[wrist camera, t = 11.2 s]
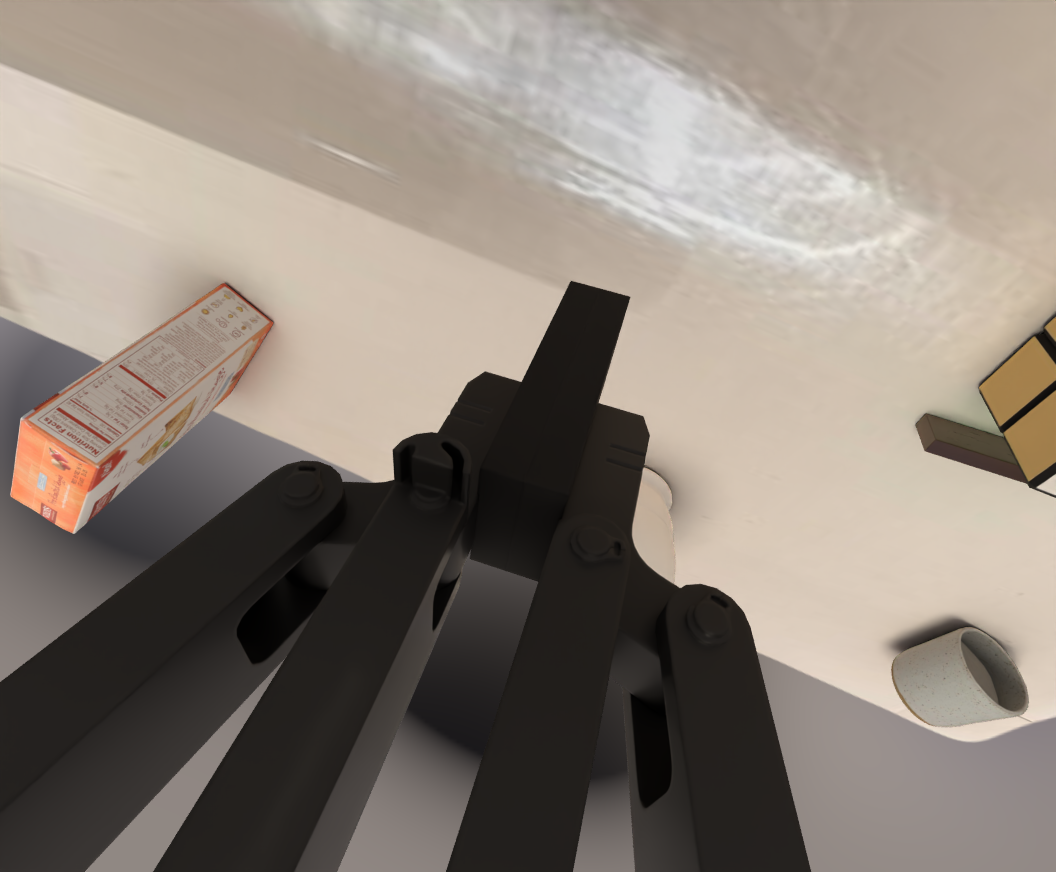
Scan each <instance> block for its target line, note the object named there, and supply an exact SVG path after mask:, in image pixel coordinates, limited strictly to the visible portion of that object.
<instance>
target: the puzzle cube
mask: <svg viewBox="0 0 1056 872" xmlns="http://www.w3.org/2000/svg"><path fill="white" fill-rule="evenodd" d="M979 391H980V394H981V396H982V398H983V400H984V402H985V404H986V405H987V407H988V409H989V411H990V413H991V415H992V417H993V419H994V421H995V423H996V424H997V426H998V428H999V430H1000V432H1001V433H1003V434H1004V439H1005V441H1006V443H1007V445H1008V447H1009V449H1010V451H1011V453H1012V455H1013V457H1014V459H1015V461H1016V463H1017V465H1018V467H1019V469H1020V470H1021V472H1022V474H1023V476H1024V478H1025V480H1026V482H1027V484H1028V486H1029V488H1032V489H1035V490H1037V491H1040V492H1042V493H1045V494H1047V495H1050V496H1052V497H1055V498H1056V317H1055V318H1054V319H1053V320H1051V321H1050V322H1049V323H1048V324H1047V325H1046V326H1045V327H1044V334H1040V335H1036V336H1034V337H1033V338H1032V339H1031V340H1029V341H1028V342H1027V343H1026V344H1025V345H1024V346H1023V347H1022V348H1021V349H1020V350H1019V351H1018V352H1016V353H1015V354H1014V355H1013V356H1012V357H1011V358H1010V359H1009V360H1008V361H1007V362H1006V363H1005V364H1004V365H1002V366H1001V367H1000V368H999V369H998V370H997V371H996V372H995V373H994V374H993V375H992V376H991V377H989V378H988V379H987V380H986V381H985V382H984V383H983V384H982V385H981V386H980V387H979Z"/></svg>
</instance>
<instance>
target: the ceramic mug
mask: <svg viewBox="0 0 1056 872" xmlns="http://www.w3.org/2000/svg"><path fill="white" fill-rule="evenodd" d="M891 671H892V679H893V683H894V686H895V689H896V691H897V693H898V695H899V697H900V698H901V700H902V702H903V703H904V704H905V706H906V707H907V708H908V709H909V710H910V711H911V712H912V714H913V715H915V716H916V717H917V718H918V719H920V720H921V721H923V722H924V723H927V724H929V725H932V726H936V727H956V726H963V725H967V724H973V723H979V722H986V721H992V720H998V719H1005V718H1011V717H1016V716H1020V715H1022V714H1024V712H1025V711H1026V710H1027V708H1028V703H1029V698H1028V692H1027V687H1026V685H1025V683H1024V680H1023V678H1022V676H1021V674H1020V672H1019V670H1018V668H1017V667H1016V665H1015V664H1014V662H1013V661H1012V659H1011V658H1010V657H1009V655H1008V654H1007V653H1006V652H1005V651H1004V649H1003V648H1002V647H1001V646H1000V645H999V644H998V643H997V642H996V641H995V640H993V639H992V638H991V637H990V636H988V635H987V634H985V633H984V632H982V631H980V630H978V629H976V628H972V627H964V628H960V629H958V630H956V631H953V632H951V633H948V634H945V635H943V636H940V637H937V638H935V639H933V640H930V641H928V642H925V643H923V644H920V645H917V646H914V647H912V648H909V649H907V650H905V651H904V652H902V653H900V654H899V655H898V656H897V657H896V658H895V659H894V661H893V664H892V669H891Z"/></svg>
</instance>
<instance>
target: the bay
mask: <svg viewBox="0 0 1056 872" xmlns="http://www.w3.org/2000/svg"><path fill="white" fill-rule="evenodd" d="M916 428H917V431H918V434H919V436H920V439H921V442H922V445H923V448H924V451H926V452H929V453H932V454H935V455H939V456H942V457H945V458H948V459H951V460H954V461H957V462H961V463H964V464H967V465H970V466H973V467H976V468H979V469H982V470H986V471H989V472H992V473H995V474H998V475H1001V476H1004V477H1008V478H1011V479H1014V480H1017V481H1020V482H1023V483H1026V484H1027V482H1026V480H1025V478H1024V476H1023V474H1022V472H1021V470H1020V469H1019V467H1018V465H1017V463H1016V461H1015V459H1014V457H1013V455H1012V453H1011V451H1010V449H1009V447H1008V445H1007V443H1006V441H1005V439H1004V438H1002V437H999V436H996V435H993V434H989V433H986V432H983V431H980V430H977V429H974V428H970V427H967V426H964V425H961V424H958V423H954V422H951V421H948V420H945V419H942V418H938V417H935V416H932V415H929V414H925V415H924V416H923V417H922V418H921V419H920V421H919V422H918V423H917V424H916Z"/></svg>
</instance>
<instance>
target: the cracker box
mask: <svg viewBox="0 0 1056 872" xmlns="http://www.w3.org/2000/svg"><path fill="white" fill-rule="evenodd" d="M272 325H273V322H272V321H271V320H269V319H268V318H267V317H266V316H264V315H263V314H262V313H261V312H259V311H258V310H257V309H256V308H254V307H253V306H252V305H251V304H249V303H248V302H247V301H246V300H245V299H243V298H242V297H241V296H240V295H238V294H237V293H236V292H235V291H233V290H232V289H231V288H230V287H228V286H227V285H226V284H225V283H222V284H221V285H220V286H218V287H217V288H215V289H214V290H212V291H211V292H209V293H208V294H206V295H205V296H203V297H202V298H200V299H199V300H197V301H196V302H194V303H193V304H191V305H190V306H188V307H187V308H185V309H184V310H182V311H181V312H179V313H178V314H176V315H175V316H173V317H172V318H170V319H169V320H167V321H166V322H164V323H163V324H161V325H160V326H158V327H157V328H155V329H154V330H152V331H151V332H149V333H148V334H146V335H145V336H143V337H142V338H140V339H139V340H137V341H136V342H134V343H132V344H131V345H129V346H128V347H126V348H125V349H123V350H122V351H120V352H119V353H117V354H116V355H114V356H113V357H111V358H110V359H108V360H107V361H105V362H104V363H102V364H101V365H99V366H98V367H97V368H95V369H93V370H92V371H90V372H89V373H87V374H86V375H84V376H83V377H81V378H80V379H78V380H77V381H75V382H74V383H72V384H70V385H69V386H67V387H66V388H64V389H63V390H61V391H60V392H58V393H57V394H55V395H54V396H52V397H51V398H49V399H48V400H46V401H45V402H43V403H42V404H40V405H39V406H37V407H35V408H34V409H32V410H31V411H30V412H28V413H27V414H25V415H24V416H23V417H21V420H20V428H19V436H18V443H17V450H16V458H15V468H14V474H13V482H12V489H11V495H10V496H12V497H13V498H14V499H16V500H18V501H19V502H21V503H22V504H24V505H26V506H28V507H30V508H31V509H33V510H35V511H36V512H38V513H39V514H41V515H42V516H43V517H45V518H46V519H48V520H49V521H51V522H53V523H54V524H56V525H58V526H59V527H61V528H63V529H64V530H67V531H69V532H71V533H76V532H77V531H78V530H79V529H80V528H81V527H83V526H84V525H85V524H86V523H87V522H88V521H89V520H90V519H92V518H93V517H94V516H95V515H96V514H97V513H98V512H99V511H100V510H102V509H103V508H104V507H105V506H106V505H107V504H108V503H109V502H110V501H111V500H112V499H114V498H115V497H116V496H117V495H118V494H119V493H120V492H121V491H122V490H123V489H124V488H126V487H127V486H128V485H129V484H130V483H131V482H132V481H133V480H135V479H136V478H137V477H138V476H139V475H140V474H141V473H142V472H144V471H145V470H146V469H147V468H148V467H149V466H150V465H152V464H153V463H154V462H155V461H156V460H157V459H158V458H159V457H160V456H162V455H163V454H164V453H165V452H166V451H167V450H168V449H169V448H170V447H172V446H173V445H174V444H175V443H176V442H177V441H178V440H179V439H180V438H182V436H184V435H185V434H186V433H187V432H188V431H189V430H190V429H191V428H193V427H194V426H195V425H196V424H197V423H198V422H200V421H201V420H202V419H203V418H204V417H205V416H206V415H207V414H208V413H210V412H211V411H212V410H213V409H214V408H215V407H216V406H217V405H219V404H220V403H221V402H222V401H223V400H224V399H225V398H226V397H227V396H228V395H230V393H231V392H232V390H233V388H234V387H235V385H236V383H237V382H238V380H239V378H240V377H241V375H242V374H243V372H244V370H245V369H246V367H247V365H248V364H249V362H250V361H251V359H252V357H253V356H254V354H255V353H256V351H257V349H258V348H259V346H260V344H261V343H262V341H263V340H264V338H265V336H266V335H267V333H268V331H269V330H270V328H271V326H272Z"/></svg>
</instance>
